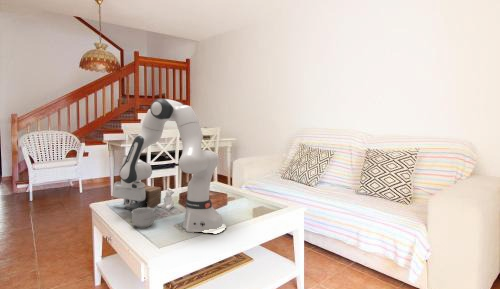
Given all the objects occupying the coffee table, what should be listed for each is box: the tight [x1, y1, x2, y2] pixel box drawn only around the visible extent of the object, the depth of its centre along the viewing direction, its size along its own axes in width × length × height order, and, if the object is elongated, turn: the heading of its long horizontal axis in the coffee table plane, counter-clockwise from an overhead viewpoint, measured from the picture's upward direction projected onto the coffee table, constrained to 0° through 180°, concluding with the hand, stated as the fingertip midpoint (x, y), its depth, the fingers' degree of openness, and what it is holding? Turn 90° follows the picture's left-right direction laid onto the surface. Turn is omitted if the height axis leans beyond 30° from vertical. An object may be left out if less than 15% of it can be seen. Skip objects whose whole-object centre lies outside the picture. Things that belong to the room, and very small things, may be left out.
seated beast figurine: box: [156, 187, 175, 212], centre depth 175 cm, size 10×9×12 cm
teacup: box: [130, 206, 156, 229], centre depth 144 cm, size 14×11×8 cm
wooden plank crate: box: [123, 184, 162, 208], centre depth 178 cm, size 18×12×10 cm, turn 74°
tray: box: [124, 200, 147, 211], centre depth 173 cm, size 12×6×4 cm, turn 164°
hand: (128, 206), depth 167 cm, fingers closed, pressing on tray
